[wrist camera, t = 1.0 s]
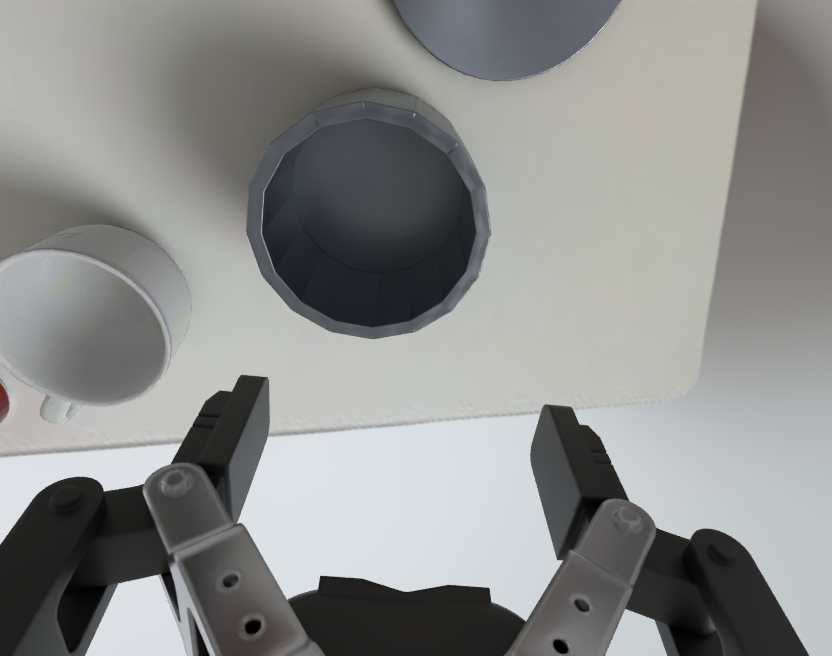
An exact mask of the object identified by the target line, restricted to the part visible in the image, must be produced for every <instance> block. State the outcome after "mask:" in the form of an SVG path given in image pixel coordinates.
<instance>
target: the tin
mask: <svg viewBox="0 0 832 656" xmlns="http://www.w3.org/2000/svg"><path fill="white" fill-rule="evenodd" d="M246 232H247V235H248V238H249V241H250V243H251V246H252V249H253V252H254V255H255V257H256V260H257V263H258V266H259V269H260V271H261V274H262V275H263V277H264V279H265V280H266V281H267V282H268V283H269V284H270V285H271V287H272V288H273V289H274V290H275V291H276V292H277V294H278V295H279V296H280V297H281V298H282V299H283V301H284V302H285V303H286V304H287V305H288V306H289V307H290V309H292V310H293V311H294V312H296V313H298V314H300V315H301V316H303V317H305V318H307V319H309V320H310V321H312V322H314V323H316V324H318V325H319V326H321V327H323V328H325V329H326V330H328V331H331V332H334V333H340V334H346V335H352V336H357V337H363V338H369V339H377V338H383V337H389V336H395V335H401V334H407V333H412V332H416V331H418V330H420V329H421V328H423V327H425V326H427V325H428V324H430V323H432V322H433V321H435V320H437V319H439V318H440V317H442V316H444V315H445V314H447V313H449V312H451V311H452V310H453V309H454V308H455V307H456V305H457V304H458V303H459V301H460V300H461V299H462V298H463V296H464V295H465V294H466V293H467V291H468V290H469V289H470V287H471V286H472V285H473V284H474V282H475V281H476V280H477V279H478V277H479V275H480V272H481V268H482V264H483V261H484V257H485V254H486V250H487V247H488V243H489V239H490V236H491V228H490V220H489V213H488V205H487V197H486V190H485V185H484V183H483V181H482V179H481V177H480V175H479V173H478V171H477V169H476V166H475V164H474V162H473V160H472V158H471V156H470V154H469V153H468V151H467V149H466V147H465V146H464V144H463V142H462V141H461V139H460V137H459V136H458V134H457V132H456V131H455V129H454V127H453V126H452V124H451V122H450V121H449V120H448V119H446V118H445V117H444V116H442V115H441V114H440V113H438V112H437V111H436V110H435V109H434V108H432V107H431V106H429V105H428V104H426V103H425V102H423V101H422V100H420V99H419V98H418V97H415V96H412V95H408V94H404V93H401V92H397V91H392V90H385V89H381V88H374V87H373V88H369V89H364V90H358V91H353V92H350V93H345V94H341V95H336V96H333V97H332V98H331V99H329V100H328V101H326V102H325V103H323V104H322V105H320V106H319V107H318V108H316V109H315V110H313V111H312V112H310V113H309V114H308V115H306V116H305V117H304V118H302V119H301V120H300V121H299V122H297V123H296V124H295V125H293V126H292V127H291V128H289V129H288V130H287V131H285V132H284V133H283V134H281V135H280V136H279V137H277V138H276V139H275V140H273V141H272V143H271V144H270V146H269V148H268V150H267V152H266V153H265V155H264V157H263V159H262V161H261V163H260V165H259V167H258V169H257V171H256V173H255V175H254V176H253V178H252V180H251V182H250V184H249V193H248V212H247V231H246Z"/></svg>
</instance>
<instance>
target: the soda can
mask: <svg viewBox="0 0 832 656" xmlns="http://www.w3.org/2000/svg"><path fill="white" fill-rule="evenodd" d="M9 405H10V402H9V397H8V392H7V390H6V388H5V386H4V384H3V383H2V381H1V380H0V423H1V422H2V421H3V420H4V419H5V418H6V416H7V414H8V411H9Z"/></svg>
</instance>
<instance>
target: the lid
mask: <svg viewBox="0 0 832 656" xmlns="http://www.w3.org/2000/svg"><path fill="white" fill-rule="evenodd" d="M621 1H622V0H394V3H395V5H396V7H397V9H398V11H399V13H400V15H401V17H402V19H403V21H404V22H405V24H406V25H407V27H408V28H409V30H410V31H411V33H412V34H413V35H414V36H415V38H416V39H417V40H418V41H419V42H420V43H421V45H422V46H423V47H424V48H425V49H426V50H427V51H429V52H430V53H431V54H432V55H433V56H434V57H435V58H437V59H438V60H440V61H441V62H443V63H444V64H446V65H447V66H449V67H450V68H452V69H455V70H457V71H459V72H461V73H463V74H466V75H469V76H472V77H476V78H479V79H486V80H492V81H512V80H519V79H525V78H529V77H532V76H536V75H539V74H542V73H544V72H547V71H549V70H551V69H554V68H556V67H557V66H559V65H561V64H562V63H564V62H566V61H567V60H569V59H571V58H572V57H573V56H575V55H576V54H577V53H578V52H580V51H581V50H582V49H584V48H585V47H586V46H587V45H588V44H589V43H590V42H591V41H592V40H593V39H594V38H595V37H596V36H597V35H598V34H599V32H600V31H601V30H602V29H603V27H604V26H605V25H606V24H607V23H608V21H609V20H610V18H611V17H612V15H613V14H614V12H615V11H616V9H617V8H618V6H619V5H620V3H621Z"/></svg>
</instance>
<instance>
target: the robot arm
mask: <svg viewBox="0 0 832 656" xmlns="http://www.w3.org/2000/svg"><path fill="white" fill-rule="evenodd" d="M269 422H270V414H269V380H268V378H267V377H259V376H248V375H241V376H240V377H239V379H238V381H237V383H236V385H235V387H234V389H233V391H232V392H229V391H218V392H217V393H216V394H214V395H213V396H212V397H211V398H209V399H208V400H207V401H206V402H205V403H204V405H203V407H202V409H201V411H200V412H199V415H198V416H197V418H196V419H195V421H194V423H193V427H191V428H190V430H189V432H188V434H187V436H186V437H185V439H184V441H183V443H182V445H181V446H180V448H179V450H178V452H177V454H176V455H175V457H174V459H173V461H172V462H171V464H170V465H167V466H165V467H162V468H160V469H158V470H157V471H155V472H154V473H152V474H151V475H150V476H149V477H148V479H147V480H146V482H145V484H142V485H139V486H135V487H130V488H124V489H118V490H111V491H105V492H104V491H103V487H102V485H101V484H100V483H99V482H98V481H97V480H94V479H92V478H88V477H73V478H67V479H63V480H60V481H58V482H55V483H53V484H51V485H49V486H48V487H46V488H45V489H43V490H42V491H41V492H39V493H38V494H37V495H36V497H35V498H34V499H33V500H32V502H31V503H30V504H29V506H28V507H27V509H26V510H25V511H24V513H23V514H22V515H21V517H20V518H19V520H18V521H17V522H16V524H15V525H14V526H13V528H12V529H11V531H10V532H9V534H8V535H7V536H6V538H5V539H4V540H3V542H2V543H1V545H0V656H85V654H86V652H87V650H88V648H89V646H90V643H91V641H92V639H93V637H94V635H95V633H96V630H97V628H98V626H99V624H100V622H101V619H102V617H103V615H104V613H105V611H106V609H107V607H108V604H109V602H110V600H111V598H112V596H113V593H114V591H115V589H116V587H117V585H118V583H122V582H126V581H130V580H135V579H140V578H145V577H149V576H154V575H158V576H159V578H160V581H161V584H162V586H163V589H164V591H165V594H166V597H167V599H168V602H169V604H170V607H171V610H172V613H173V615H174V618H175V620H176V622H177V625H178V628H179V631H180V633H181V637H182V640H183V643H184V647H185V651H186V654H187V656H605V654H606V652H607V649H608V647H609V645H610V643H611V640H612V638H613V635H614V633H615V631H616V628H617V626H618V624H619V622H620V619H621V617H622V615H623V612H624V610H625V609H627V610H630V611H633V612H635V613H638V614H641V615H644V616H646V617H649V618H651V619H654V620H655V622H656V625H657V628H658V631H659V633H660V636H661V639H662V642H663V645H664V647H665V650H666V653H667V656H809V655H808V653H807V651H806V650H805V648H804V646H803V644H802V642H801V641H800V639H799V637H798V636H797V634H796V632H795V630H794V629H793V627H792V625H791V624H790V622H789V620H788V619H787V617H786V615H785V613H784V612H783V610H782V608H781V606H780V605H779V603H778V601H777V600H776V598H775V596H774V594H773V593H772V591H771V589H770V588H769V586H768V584H767V582H766V581H765V579H764V577H763V575H762V574H761V572H760V570H759V569H758V567H757V566H756V564H755V562H754V560H753V558H752V557H751V555H750V554H749V552H748V551H747V550H746V549H745V547H743V546H742V545H741V544H740V543H739V542H738V541H737V540H735V539H733V538H732V537H731V536H729V535H727V534H725V533H722V532H720V531H717V530H713V529H700V530H697V531H696V532H695V533H694V534H693V535H692V537H691V539H690V540H689V539H686V538H683V537H680V536H677V535H673V534H671V533H668V532H665V531H663V530H660V529H658V528H656V526H655V524H654V521H653V520H652V518H651V517H650V516H649V515H648V513H646V512H645V511H644V510H643V509H642V508H640V507H638V506H637V505H635V504H633V503H631V502H630V501H629V499H628V497H627V495H626V493H625V491H624V488H623V486H622V484H621V482H620V480H619V478H618V476H617V473H616V471H615V469H614V467H613V465H611V460H610V458H609V456H608V454H606V450H605V448H604V445H603V443H602V441H601V439H600V437H599V436H597V434H596V433H595V432H594V431H592V429H591V428H590V427H589V426H587V425H579V423H578V420H577V418H576V416H575V413H574V411H573V409H572V408H571V407H568V406H557V405H547V404H546V405H544V406H543V408H542V411H541V414H540V418H539V421H538V425H537V428H536V431H535V435H534V438H533V441H532V445H531V455H530V458H531V466H532V470H533V474H534V477H535V481H536V484H537V488H538V492H539V495H540V499H541V503H542V506H543V510H544V514H545V517H546V521H547V525H548V528H549V532H550V535H551V539H552V543H553V546H554V550H555V553H556V557H557V560H563V562H562V564H561V565H560V567H559V569H558V570H557V572H556V574H555V575H554V577H553V578H552V580H551V582H550V584H549V585H548V587H547V588H546V590H545V592H544V593H543V595H542V597H541V598H540V600H539V601H538V603H537V605H536V606H535V608H534V610H533V611H532V613H531V615H530V616H529V618H528V620H527V621H525V620H523V619H522V618H521V617H519V616H518V615H516V614H515V613H513V612H512V611H510V610H508V609H507V608H504V607H502V606H500V605H498V604H495V603H492V602H491V597H490V589H489V588H484V587H470V586H456V585H446V586H440V587H435V588H429V589H423V590H417V591H411V592H403V591H399V590H396V589H393V588H390V587H387V586H384V585H380V584H377V583H374V582H371V581H368V580H365V579H359V578H345V577H330V576H320V582H319V588H318V590H313V591H309V592H305V593H302V594H299V595H297V596H294V597H292V598H290V599H288V600H287V599H286V598H285V596H284V594H283V592H282V590H281V589H280V587H279V585H278V584H277V582H276V580H275V578H274V576H273V575H272V573H271V571H270V569H269V568H268V566H267V564H266V563H265V561H264V559H263V557H262V556H261V554H260V552H259V550H258V548H257V547H256V545H255V543H254V541H253V540H252V538H251V536H250V534H249V532H248V531H247V529H246V528H245V526H244V525H243V524H242V523H239V524H237V522H238V519H239V517H240V514H241V511H242V508H243V505H244V502H245V499H246V497H247V494H248V491H249V489H250V486H251V483H252V480H253V477H254V474H255V471H256V469H257V466H258V463H259V460H260V458H261V454H262V452H263V449H264V446H265V444H266V441H267V437H268V431H269Z"/></svg>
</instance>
